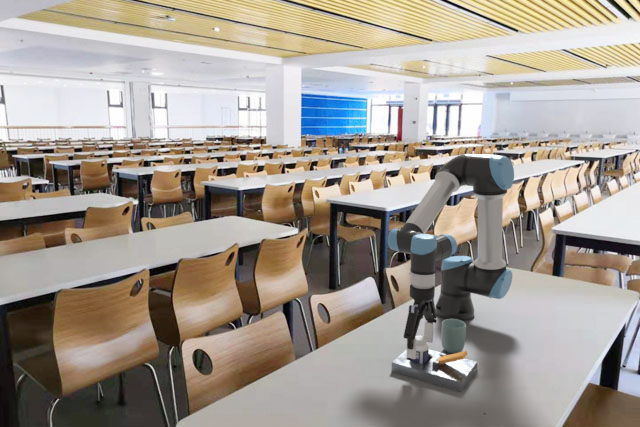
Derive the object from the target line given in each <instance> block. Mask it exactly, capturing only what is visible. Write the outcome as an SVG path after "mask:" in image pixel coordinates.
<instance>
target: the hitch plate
mask: <svg viewBox="0 0 640 427" xmlns="http://www.w3.org/2000/svg"><path fill="white" fill-rule="evenodd" d="M446 355H450V353H447V352H446V353H445V352H441V351H437V350H434V349H430V348H429V351H428V363H427V364H426V365H424V364H421V363H417V362H414V361H411V358H408V357H407V348H406V349H405V350H404V351H403V352H402V353H401V354H400V355H398V356H397V357H396V358H394V360H393V361H392V362H391V372H392V373H396V374H400V375H403V376H406V377H409V378H412V379H416V380H420V381H423V382H426V383H430V384H434V385H436V386H440V387H442V388H446V389H450V390H452V391H457V392H460V393H462V391H463V390H464V389H465V387H466V386H467V385H468V384H469V382H470V381H471V380H472V378H473V377H474V375H475V374H476V373H477V372H478V361H475V360H471V359H468V358H466V357H465V358H464V359H461V360H457V361H452V362H448V363H443V364H439V361H435V360H436V359H437V358H438V357H439V356H446Z"/></svg>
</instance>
